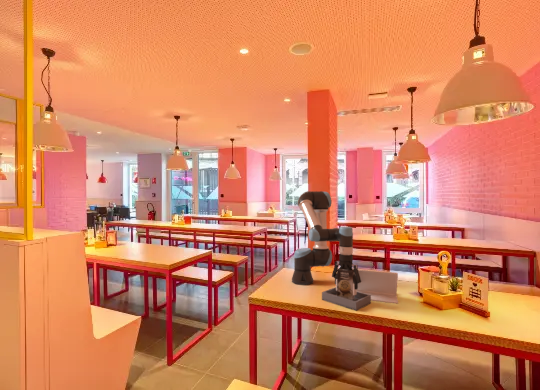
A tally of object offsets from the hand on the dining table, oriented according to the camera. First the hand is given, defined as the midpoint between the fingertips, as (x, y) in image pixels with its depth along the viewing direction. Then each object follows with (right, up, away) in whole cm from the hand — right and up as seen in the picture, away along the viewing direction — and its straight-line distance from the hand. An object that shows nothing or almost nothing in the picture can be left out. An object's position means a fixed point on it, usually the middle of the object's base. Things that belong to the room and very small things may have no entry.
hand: (345, 292), depth 160 cm
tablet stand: (+20, -6, +10) cm, 23 cm away
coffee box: (0, -3, 0) cm, 3 cm away
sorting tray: (0, -5, 0) cm, 5 cm away
